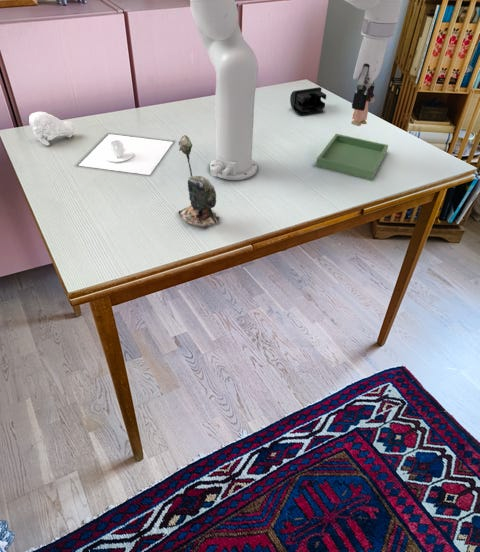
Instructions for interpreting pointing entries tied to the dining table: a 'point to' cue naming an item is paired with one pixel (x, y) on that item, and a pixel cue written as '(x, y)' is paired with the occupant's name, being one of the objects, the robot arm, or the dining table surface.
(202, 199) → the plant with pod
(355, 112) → the grandmother figurine
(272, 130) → the dining table surface
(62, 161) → the dining table surface
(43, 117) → the white animal figurine
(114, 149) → the teacup and saucer
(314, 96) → the end cap
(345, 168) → the tray
